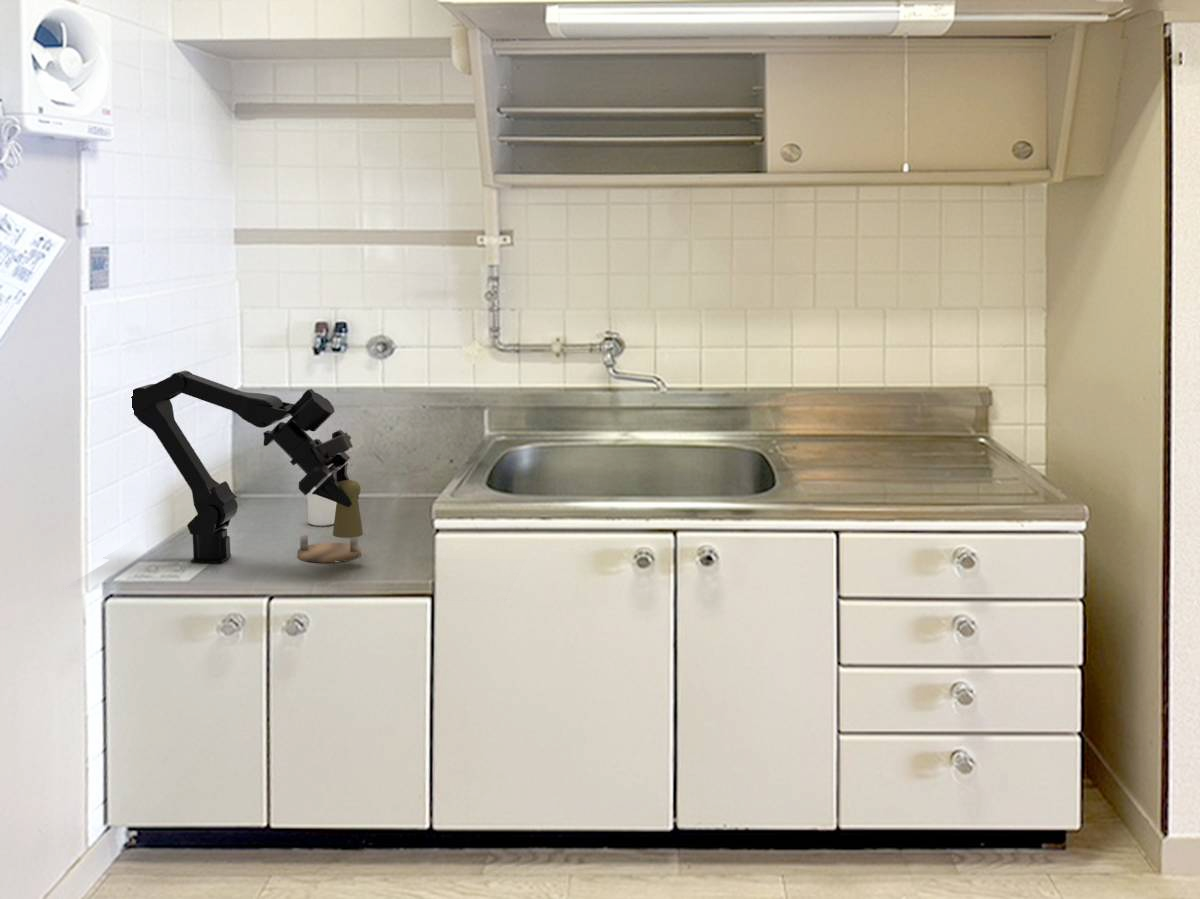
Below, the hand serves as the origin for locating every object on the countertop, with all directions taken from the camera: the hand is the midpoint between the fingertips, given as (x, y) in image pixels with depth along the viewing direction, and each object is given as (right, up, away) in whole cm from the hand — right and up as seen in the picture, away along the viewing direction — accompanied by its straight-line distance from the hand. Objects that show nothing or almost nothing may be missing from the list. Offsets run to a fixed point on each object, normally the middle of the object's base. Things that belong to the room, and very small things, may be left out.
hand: (354, 502), depth 288 cm
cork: (-1, -7, +1) cm, 7 cm away
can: (-14, -6, +38) cm, 41 cm away
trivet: (-7, -11, +11) cm, 17 cm away
